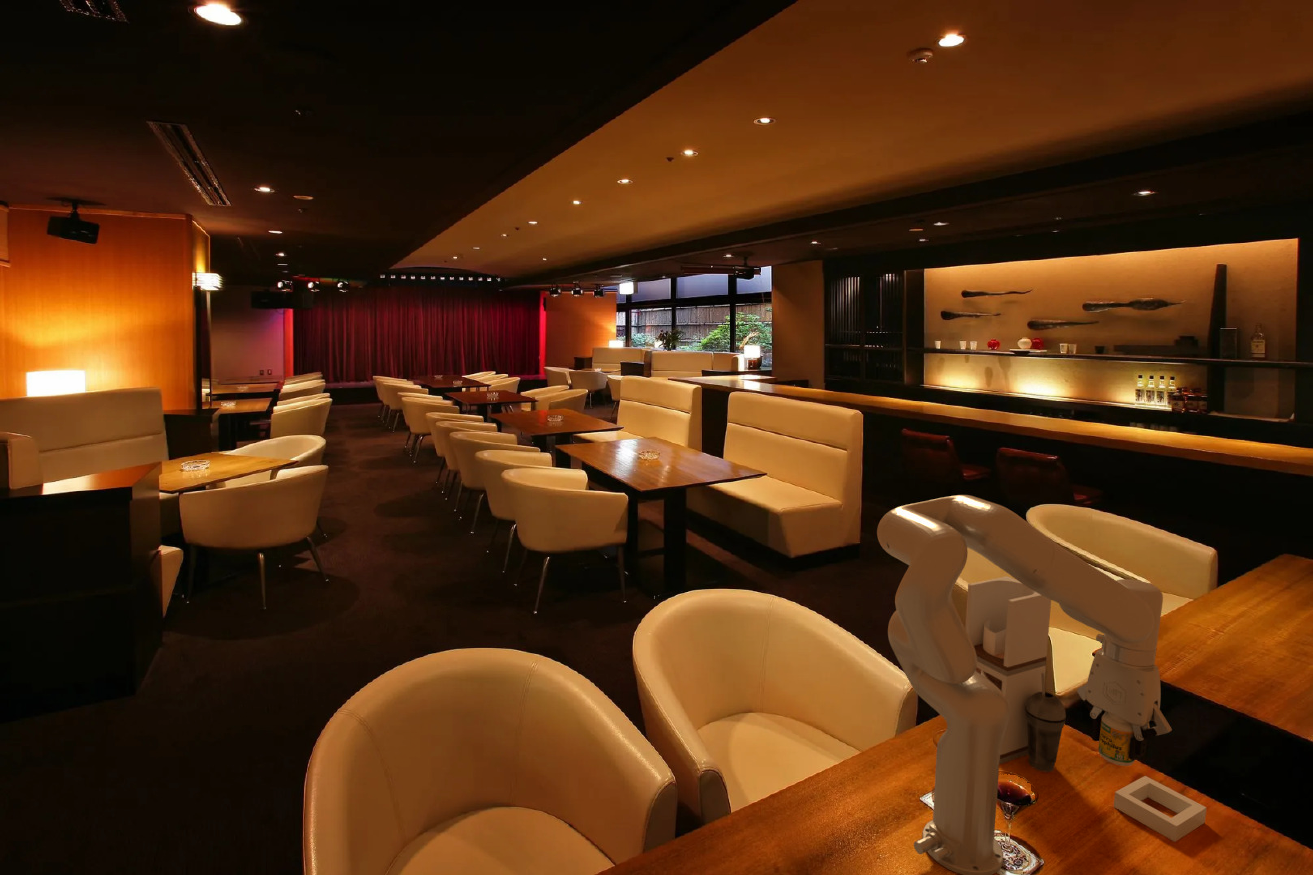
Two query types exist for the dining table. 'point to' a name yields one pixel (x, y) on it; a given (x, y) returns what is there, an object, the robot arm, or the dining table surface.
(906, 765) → the dining table surface
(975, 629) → the white notched pedestal
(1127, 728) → the supplement bottle
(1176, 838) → the white rectangular hollow frame
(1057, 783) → the dining table surface
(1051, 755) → the beverage cup
